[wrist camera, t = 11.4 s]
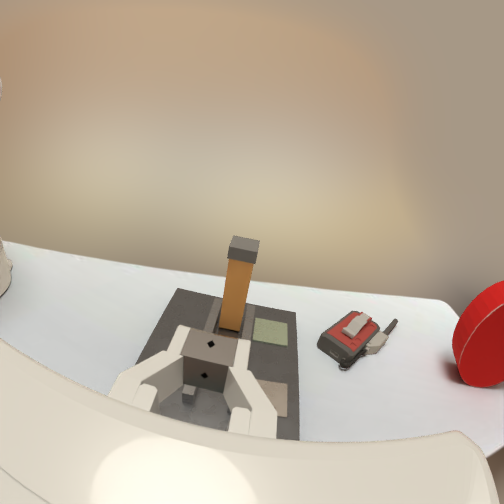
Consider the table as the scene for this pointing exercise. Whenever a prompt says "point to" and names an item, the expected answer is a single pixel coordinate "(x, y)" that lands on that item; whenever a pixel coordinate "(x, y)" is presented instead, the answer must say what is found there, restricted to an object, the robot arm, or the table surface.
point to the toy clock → (481, 339)
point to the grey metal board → (260, 360)
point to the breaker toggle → (237, 281)
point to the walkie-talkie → (353, 338)
